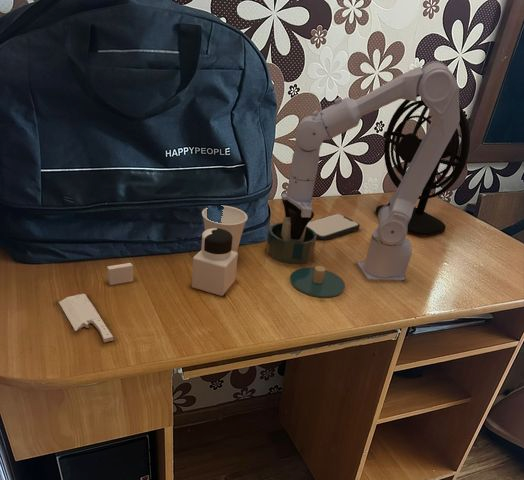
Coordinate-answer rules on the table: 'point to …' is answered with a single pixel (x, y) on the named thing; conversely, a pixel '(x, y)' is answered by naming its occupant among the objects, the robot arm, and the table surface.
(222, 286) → the medicine bottle
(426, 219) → the desk fan
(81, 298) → the butcher knife
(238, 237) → the cup
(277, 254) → the canister
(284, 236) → the block
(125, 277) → the eraser
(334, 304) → the table surface
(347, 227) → the phone case
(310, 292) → the lid
